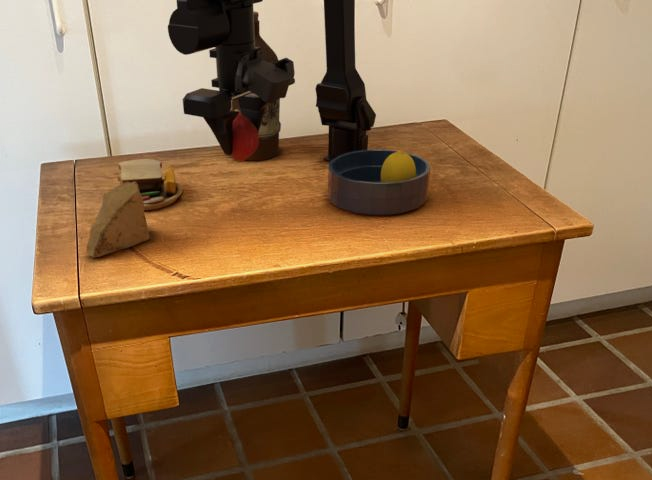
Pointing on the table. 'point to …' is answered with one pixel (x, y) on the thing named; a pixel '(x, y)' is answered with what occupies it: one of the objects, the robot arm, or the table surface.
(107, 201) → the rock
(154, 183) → the toy sandwich meal
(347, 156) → the bowl
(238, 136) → the onion
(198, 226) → the table surface
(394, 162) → the lemon
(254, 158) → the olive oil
